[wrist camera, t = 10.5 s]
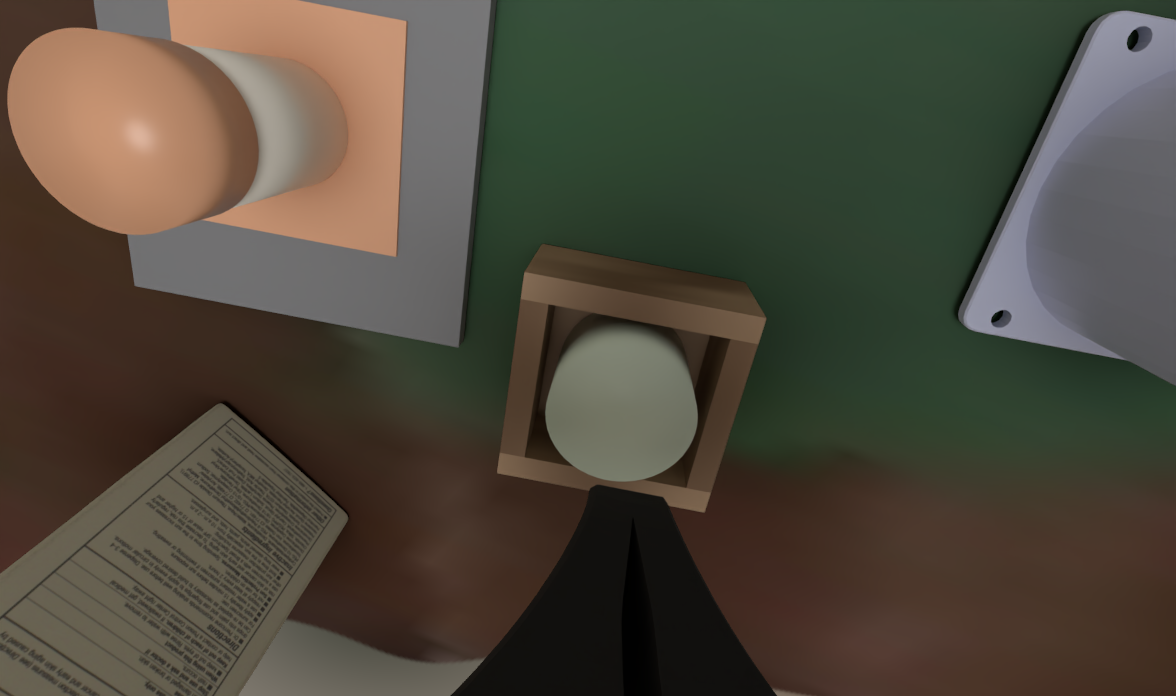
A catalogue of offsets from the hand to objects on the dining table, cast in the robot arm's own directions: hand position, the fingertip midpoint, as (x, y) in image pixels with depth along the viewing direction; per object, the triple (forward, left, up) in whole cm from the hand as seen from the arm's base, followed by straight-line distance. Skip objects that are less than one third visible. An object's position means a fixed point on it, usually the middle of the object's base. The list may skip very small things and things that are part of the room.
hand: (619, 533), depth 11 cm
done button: (0, 0, -7) cm, 7 cm away
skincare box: (+12, +8, -8) cm, 17 cm away
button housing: (0, 0, -8) cm, 8 cm away
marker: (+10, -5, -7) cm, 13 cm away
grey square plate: (+10, -5, -8) cm, 14 cm away
